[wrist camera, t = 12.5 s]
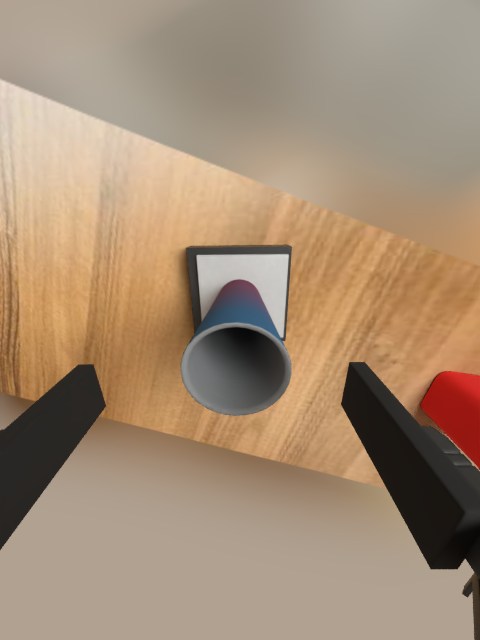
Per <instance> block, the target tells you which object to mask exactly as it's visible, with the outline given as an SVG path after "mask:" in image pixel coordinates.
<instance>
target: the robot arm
mask: <svg viewBox="0 0 480 640" xmlns="http://www.w3.org/2000/svg"><path fill="white" fill-rule="evenodd" d="M341 405H342V407H343V409H344V411H345V413H346V414H347V416H348V418H349V420H350V422H351V424H352V425H353V427H354V429H355V431H356V433H357V435H358V436H359V438H360V440H361V442H362V444H363V446H364V447H365V449H366V451H367V453H368V455H369V457H370V458H371V460H372V462H373V464H374V466H375V468H376V469H377V471H378V473H379V475H380V477H381V479H382V480H383V482H384V484H385V486H386V488H387V490H388V491H389V493H390V495H391V497H392V499H393V501H394V502H395V504H396V506H397V508H398V510H399V512H400V513H401V515H402V517H403V519H404V521H405V523H406V524H407V526H408V528H409V530H410V532H411V533H412V535H413V537H414V539H415V541H416V543H417V545H418V546H419V548H420V550H421V552H422V554H423V556H424V557H425V559H426V561H427V563H428V565H429V567H430V569H458V567H459V566H460V565H461V563H462V562H463V561H464V559H466V560H467V562H468V563H469V565H470V566H471V568H472V569H473V571H474V572H475V573H474V574H473V575H472V577H471V578H470V579H469V581H468V582H467V583H466V585H465V586H464V589H463V595H465V596H466V597H468V596H469V595H470V594H471V592H472V591H473V613H474V639H475V640H480V471H479V470H478V469H477V468H476V467H475V466H472V463H471V462H470V461H469V460H468V459H467V458H466V457H465V456H464V455H463V454H461V453H460V450H459V449H458V448H457V447H456V446H455V445H454V444H453V443H452V442H451V441H450V440H449V439H448V438H447V437H446V436H444V435H443V434H441V433H440V432H438V431H437V430H436V429H434V428H433V427H431V426H420V425H419V423H418V422H417V421H416V420H415V419H414V418H413V417H412V416H411V414H410V413H409V412H408V411H407V410H406V409H405V408H404V406H403V405H402V404H401V403H400V402H399V401H398V400H397V398H396V397H395V396H394V395H393V394H392V393H391V392H390V390H389V389H388V388H387V387H386V386H385V385H384V384H383V382H382V381H381V380H380V379H379V378H378V377H377V376H376V374H375V373H374V372H373V371H372V370H371V369H370V368H369V367H368V365H367V364H366V363H365V362H349V367H348V372H347V377H346V382H345V387H344V392H343V397H342V402H341ZM105 407H106V404H105V401H104V398H103V394H102V391H101V388H100V385H99V381H98V378H97V375H96V372H95V368H94V365H93V364H88V365H77V366H76V367H75V368H74V369H73V370H72V371H71V372H70V373H68V374H67V375H66V376H65V377H64V378H63V379H62V380H60V381H59V382H58V383H57V384H56V385H55V386H54V387H52V388H51V389H50V390H49V391H48V392H47V393H46V394H44V395H43V396H42V397H41V398H40V399H39V400H38V401H36V402H35V403H34V404H33V405H32V406H31V407H30V408H29V409H27V410H26V411H25V412H24V413H23V414H22V415H20V416H19V417H18V418H17V419H16V420H15V421H14V422H13V423H11V424H10V425H9V426H8V427H7V428H6V429H4V430H0V550H1V548H2V547H3V546H4V544H5V543H6V541H7V540H8V539H9V537H10V536H11V535H12V533H13V532H14V531H15V529H16V528H17V526H18V525H19V524H20V522H21V521H22V520H23V518H24V517H25V515H26V514H27V513H28V512H29V510H30V509H31V507H32V506H33V505H34V503H35V502H36V501H37V499H38V498H39V497H40V495H41V494H42V493H43V491H44V490H45V488H46V487H47V486H48V484H49V483H50V482H51V480H52V479H53V478H54V476H55V475H56V473H57V472H58V471H59V469H60V468H61V467H62V465H63V464H64V462H65V461H66V460H67V459H68V457H69V456H70V454H71V453H72V452H73V450H74V449H75V448H76V446H77V445H78V444H79V442H80V441H81V439H82V438H83V437H84V435H85V434H86V433H87V431H88V430H89V429H90V427H91V426H92V425H93V423H94V422H95V420H96V419H97V418H98V416H99V415H100V414H101V412H102V411H103V410H104V408H105Z"/></svg>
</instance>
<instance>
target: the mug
mask: <svg viewBox="0 0 480 640" xmlns="http://www.w3.org/2000/svg"><path fill="white" fill-rule="evenodd" d="M421 408H422V409H423V411H424V412H425V413H426V414H427V415H428V416H429V417H430V418H431V419H432V420H433V421H434V422H435V423H436V424H437V425H438V426H439V427H440V428H441V429H442V430H443V431H444V432H445V433H446V434H447V435H448V436H449V437H450V438H451V440H452V441H453V442H454V443H455V444H456V445H457V446H458V447H459V448H460V449H461V450H462V451H463V452H464V453H465V454H466V455H467V456H468V457H469V458H470V459H471V460H472V461H473V462H474V463H475V464H476V465H477V467H478V468H479V470H480V376H479V375H472V374H465V373H458V372H451V371H447V372H443V373H441V374H439V375H438V376H437V377H436V378H435V380H434V382H433V383H432V385H431V387H430V389H429V390H428V392H427V394H426V395H425V397H424V399H423V401H422V403H421Z"/></svg>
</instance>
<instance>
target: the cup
mask: <svg viewBox="0 0 480 640" xmlns="http://www.w3.org/2000/svg"><path fill="white" fill-rule="evenodd" d="M181 375H182V380H183V383H184V385H185V387H186V389H187V391H188V392H189V393H190V395H191V396H192V397H193V398H194V399H195V400H196V401H197V402H198V403H199V404H201V405H202V406H204V407H206V408H207V409H210V410H212V411H214V412H217V413H221V414H225V415H234V416H239V415H249V414H253V413H257V412H259V411H262V410H264V409H266V408H268V407H269V406H271V405H273V404H274V403H275V402H276V401H277V400H278V399H280V397H281V396H282V395H283V394H284V392H285V391H286V389H287V387H288V385H289V382H290V378H291V361H290V357H289V354H288V352H287V350H286V348H285V346H284V344H283V342H282V340H281V337H280V335H279V333H278V331H277V329H276V327H275V325H274V323H273V321H272V319H271V317H270V314H269V312H268V310H267V308H266V306H265V304H264V302H263V300H262V298H261V296H260V293H259V291H258V289H257V288H256V287H255V286H254V285H253V284H252V283H251V282H249V281H246V280H241V279H238V280H233V281H230V282H228V283H227V284H226V285H224V287H223V288H222V289H221V291H220V293H219V294H218V296H217V298H216V299H215V301H214V303H213V304H212V306H211V308H210V309H209V311H208V312H207V314H206V316H205V317H204V319H203V321H202V322H201V324H200V326H199V327H198V329H197V331H196V332H195V334H194V336H193V337H192V339H191V341H190V342H189V344H188V346H187V348H186V349H185V351H184V353H183V357H182V361H181Z"/></svg>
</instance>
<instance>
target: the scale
mask: <svg viewBox="0 0 480 640" xmlns="http://www.w3.org/2000/svg"><path fill="white" fill-rule="evenodd" d="M186 249H187V260H188V270H189V280H190V291H191V301H192V312H193V322H194V333H195V332H196V331H197V329H198V327H199V326H200V324H201V322H202V321H203V319H204V317H205V316H206V314H207V312H208V311H209V309H210V308H211V306H212V304H213V303H214V301H215V299H216V298H217V296H218V294H219V293H220V291H221V289H222V288H223V287H224V285H226V284H227V283H228V282H230V281H233V280H238V279H241V280H246V281H249V282H251V283H252V284H253V285H254V286H255V287H256V288H257V289H258V291H259V293H260V296H261V298H262V300H263V302H264V304H265V306H266V308H267V310H268V312H269V314H270V317H271V319H272V321H273V323H274V325H275V327H276V329H277V331H278V333H279V335H280V337H281V340H282V341H285V338H286V323H287V309H288V294H289V280H290V266H291V251H292V247H291V246H289V245H231V246H190V247H187V248H186Z"/></svg>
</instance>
